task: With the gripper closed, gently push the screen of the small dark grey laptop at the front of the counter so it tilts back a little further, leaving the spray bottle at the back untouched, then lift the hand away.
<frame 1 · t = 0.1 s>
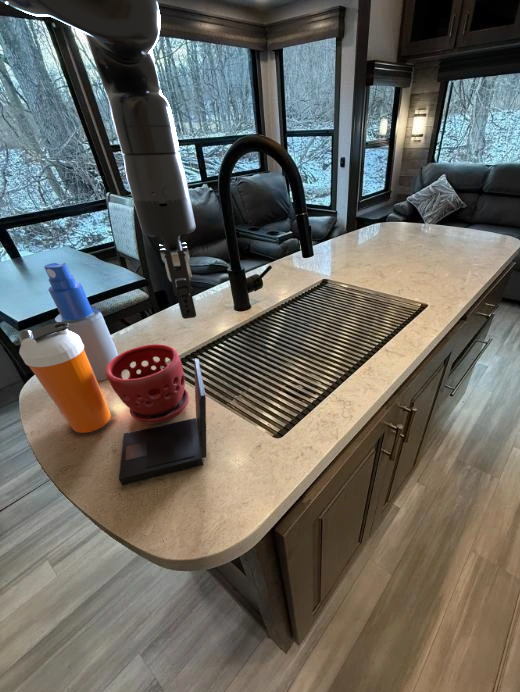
hand: (187, 307, 56), 22 cm above the worktop, tool pointing down, fingers open, 8 cm apart
flower pot: (160, 409, 69), on the worktop
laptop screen: (200, 408, 56), point 8 cm above the worktop, hinge at 100.0°
shaker bottle: (92, 421, 66), on the worktop
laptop: (163, 452, 59), on the worktop
spray bottle: (103, 371, 81), on the worktop
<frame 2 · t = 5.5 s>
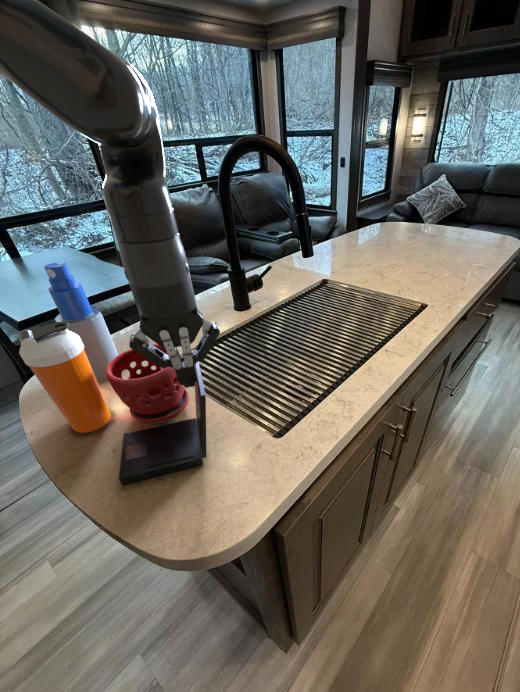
hand: (189, 384, 53), 13 cm above the worktop, tool pointing down, fingers closed
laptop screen: (200, 408, 56), point 8 cm above the worktop, hinge at 100.0°, touching gripper
everything else where it was.
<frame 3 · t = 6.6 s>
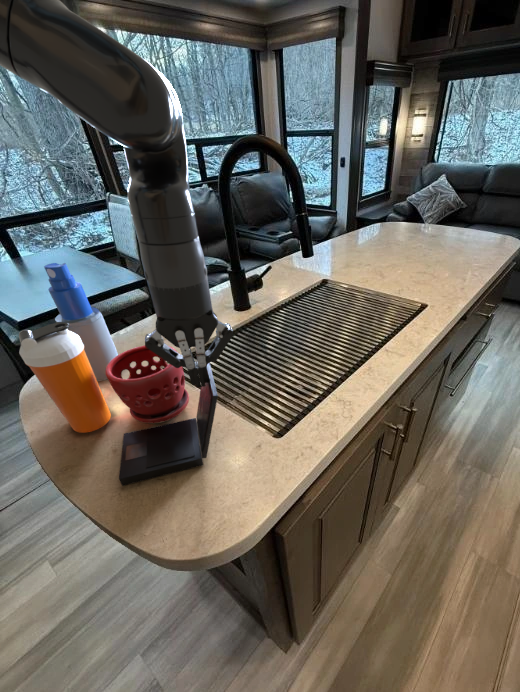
hand: (200, 384, 54), 13 cm above the worktop, tool pointing down, fingers closed
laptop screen: (205, 408, 57), point 8 cm above the worktop, hinge at 107.8°, touching gripper
everything else where it was.
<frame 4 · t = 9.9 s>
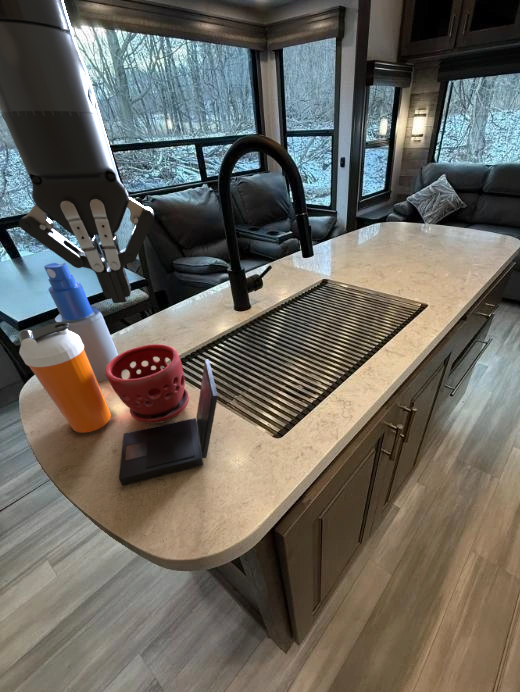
hand: (120, 300, 40), 29 cm above the worktop, tool pointing down, fingers closed
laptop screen: (205, 408, 57), point 8 cm above the worktop, hinge at 107.8°
everything else where it was.
at the end: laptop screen at +108° (first picture: +100°); spray bottle moved 0.2 cm from its start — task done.
